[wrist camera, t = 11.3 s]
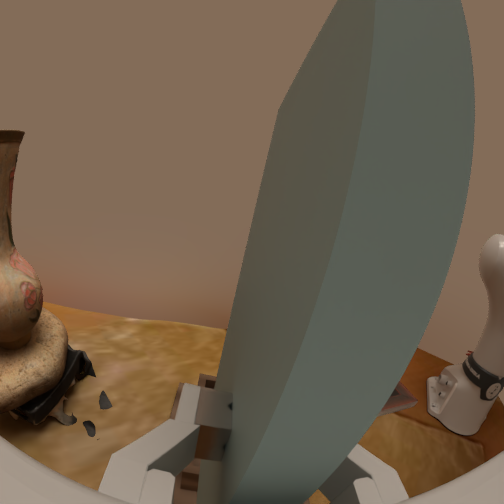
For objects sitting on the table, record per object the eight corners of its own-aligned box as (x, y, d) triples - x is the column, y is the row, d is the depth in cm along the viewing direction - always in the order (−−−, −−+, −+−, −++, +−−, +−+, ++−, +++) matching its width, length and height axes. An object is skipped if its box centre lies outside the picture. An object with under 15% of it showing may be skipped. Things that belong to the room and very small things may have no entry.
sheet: (203, 437, 18) (278, 109, 13) (222, 440, 18) (307, 117, 13) (191, 562, 7) (374, -59, 1) (218, 565, 7) (457, -12, 2)
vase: (-21, 348, 26) (-33, 137, 18) (77, 338, 42) (89, 145, 35) (-12, 457, 11) (-90, 123, 3) (128, 431, 28) (146, 138, 20)
